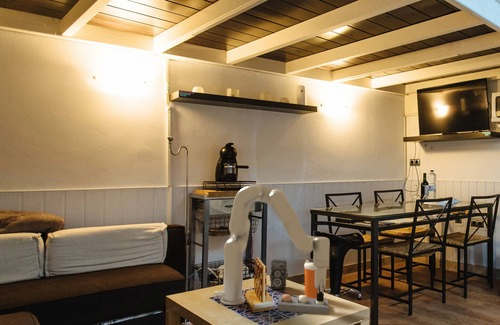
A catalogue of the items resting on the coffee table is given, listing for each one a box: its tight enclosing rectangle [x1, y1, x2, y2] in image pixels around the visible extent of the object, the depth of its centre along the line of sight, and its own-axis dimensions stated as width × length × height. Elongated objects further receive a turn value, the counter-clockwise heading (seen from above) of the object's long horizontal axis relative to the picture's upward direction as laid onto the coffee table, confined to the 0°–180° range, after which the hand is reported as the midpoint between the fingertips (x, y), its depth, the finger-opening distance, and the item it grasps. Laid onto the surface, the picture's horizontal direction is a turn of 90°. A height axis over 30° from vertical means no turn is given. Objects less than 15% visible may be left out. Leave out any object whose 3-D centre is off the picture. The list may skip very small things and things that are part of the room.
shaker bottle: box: [303, 257, 317, 298], centre depth 214 cm, size 9×9×20 cm
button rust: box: [282, 293, 292, 303], centre depth 199 cm, size 4×4×3 cm
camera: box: [269, 259, 289, 291], centre depth 227 cm, size 10×10×15 cm
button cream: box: [298, 294, 307, 304], centre depth 198 cm, size 4×4×3 cm
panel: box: [277, 295, 330, 315], centre depth 198 cm, size 24×12×3 cm, turn 84°
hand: (320, 300), depth 197 cm, fingers closed
